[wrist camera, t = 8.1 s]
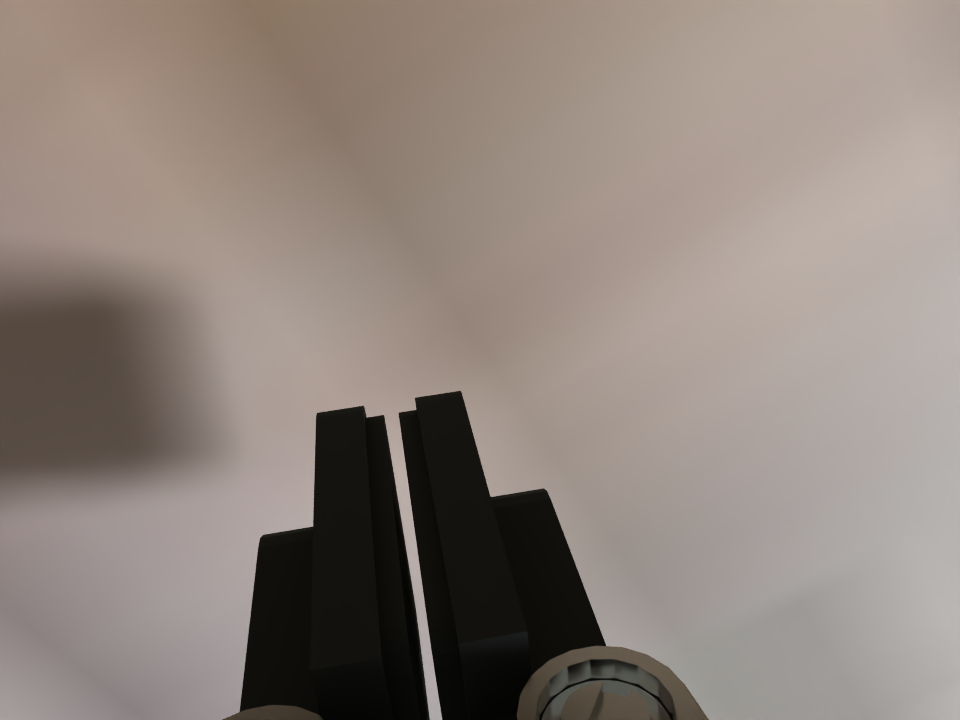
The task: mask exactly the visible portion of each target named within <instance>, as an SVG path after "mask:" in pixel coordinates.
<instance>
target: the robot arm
mask: <svg viewBox="0 0 960 720" xmlns="http://www.w3.org/2000/svg"><path fill="white" fill-rule="evenodd" d="M415 402H416V409H417V410H413V411H407V412H401V413H399V419H400V426H401V433H402V440H403V448H404V455H405V462H406V469H407V477H408V484H409V491H410V498H411V505H412V513H413V520H414V527H415V534H416V542H417V549H418V556H419V563H420V570H421V578H422V585H423V592H424V599H425V607H426V614H427V621H428V628H429V635H430V642H431V649H432V655H433V662H434V669H435V675H436V682H437V688H438V694H439V701H440V707H441V713H442V720H709V719H708V718H707V717H706V715H705V714H704V712H703V711H702V709H701V708H700V706H699V705H698V703H697V702H696V700H695V699H694V697H693V696H692V694H691V693H690V691H689V690H688V688H687V687H686V686H685V684H684V683H683V682H682V681H681V680H680V679H679V678H678V677H677V676H676V675H675V674H674V673H673V672H672V670H671V669H670V668H669V667H667V666H665V665H664V664H662V663H660V662H659V661H657V660H655V659H654V658H652V657H650V656H649V655H647V654H643V653H640V652H637V651H633V650H630V649H627V648H623V647H611V646H606V644H605V642H604V639H603V636H602V634H601V631H600V628H599V626H598V623H597V620H596V618H595V615H594V612H593V610H592V607H591V605H590V602H589V599H588V597H587V594H586V591H585V589H584V586H583V583H582V581H581V578H580V576H579V573H578V570H577V568H576V565H575V562H574V560H573V557H572V554H571V552H570V549H569V546H568V544H567V541H566V539H565V536H564V533H563V531H562V528H561V525H560V523H559V520H558V517H557V515H556V512H555V509H554V507H553V504H552V502H551V499H550V497H549V495H548V492H547V491H546V490H545V489H538V490H532V491H526V492H520V493H514V494H508V495H502V496H496V497H490V494H489V490H488V487H487V483H486V479H485V476H484V472H483V469H482V465H481V461H480V458H479V454H478V450H477V447H476V443H475V440H474V436H473V432H472V429H471V425H470V421H469V418H468V414H467V411H466V407H465V403H464V400H463V396H462V393H461V391H457V392H450V393H444V394H437V395H431V396H424V397H418V398H415ZM223 720H430V719H429V711H428V703H427V695H426V686H425V678H424V670H423V662H422V654H421V646H420V638H419V630H418V622H417V615H416V608H415V601H414V595H413V589H412V582H411V576H410V570H409V564H408V558H407V552H406V546H405V540H404V534H403V527H402V521H401V515H400V509H399V503H398V497H397V491H396V485H395V479H394V473H393V466H392V460H391V454H390V448H389V442H388V436H387V430H386V424H385V418H384V415H381V416H375V417H368V418H366V413H365V408H364V406H359V407H353V408H346V409H340V410H333V411H327V412H320V413H317V416H316V447H315V483H314V520H313V527H309V528H302V529H296V530H290V531H284V532H278V533H272V534H266V535H263V536H262V537H261V538H260V542H259V547H258V555H257V564H256V573H255V582H254V591H253V600H252V608H251V617H250V626H249V635H248V644H247V653H246V661H245V670H244V679H243V688H242V697H241V706H240V712H239V713H237V714H234V715H232V716H230V717H227V718H225V719H223Z"/></svg>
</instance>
